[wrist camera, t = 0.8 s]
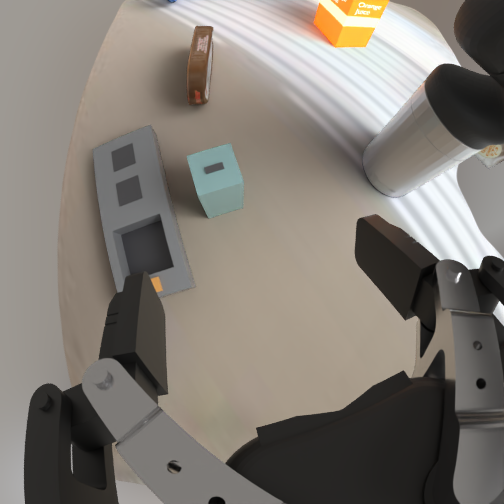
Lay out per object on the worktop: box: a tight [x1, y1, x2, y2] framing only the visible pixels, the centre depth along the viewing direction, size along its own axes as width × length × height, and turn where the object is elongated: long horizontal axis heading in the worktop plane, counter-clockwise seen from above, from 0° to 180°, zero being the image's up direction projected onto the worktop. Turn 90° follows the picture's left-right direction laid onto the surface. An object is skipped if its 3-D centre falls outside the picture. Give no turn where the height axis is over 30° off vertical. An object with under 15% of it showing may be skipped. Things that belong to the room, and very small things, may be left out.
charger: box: [187, 143, 244, 218], centre depth 30 cm, size 4×4×9 cm
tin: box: [187, 26, 213, 105], centre depth 33 cm, size 15×3×8 cm, turn 1°
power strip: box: [93, 125, 196, 298], centre depth 32 cm, size 22×9×4 cm, turn 18°
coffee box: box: [474, 144, 504, 169], centre depth 30 cm, size 9×6×16 cm
